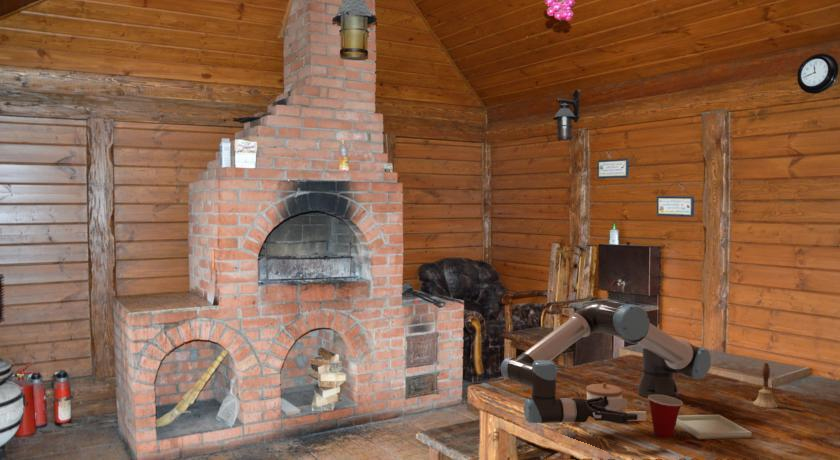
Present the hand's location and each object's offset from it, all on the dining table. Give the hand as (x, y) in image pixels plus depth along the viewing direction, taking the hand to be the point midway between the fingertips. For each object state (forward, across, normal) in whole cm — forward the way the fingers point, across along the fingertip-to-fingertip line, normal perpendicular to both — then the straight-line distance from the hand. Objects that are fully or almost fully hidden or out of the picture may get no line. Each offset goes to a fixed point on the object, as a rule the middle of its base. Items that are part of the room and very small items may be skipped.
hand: (636, 409), depth 206 cm
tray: (+28, -4, -8) cm, 29 cm away
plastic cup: (+10, 0, -9) cm, 13 cm away
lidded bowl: (-1, -23, -9) cm, 25 cm away
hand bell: (+65, -28, -8) cm, 71 cm away
